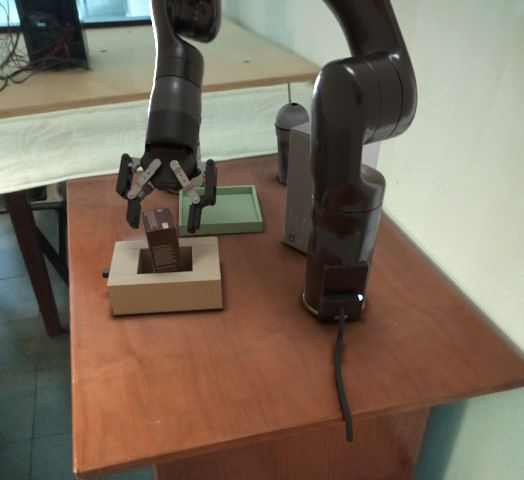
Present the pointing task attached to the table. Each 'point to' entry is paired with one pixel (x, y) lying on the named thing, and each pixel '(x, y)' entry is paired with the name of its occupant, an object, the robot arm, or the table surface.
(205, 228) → the tray
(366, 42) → the robot arm
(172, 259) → the box
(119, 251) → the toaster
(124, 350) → the table surface
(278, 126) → the beverage cup
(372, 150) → the hard drive box
